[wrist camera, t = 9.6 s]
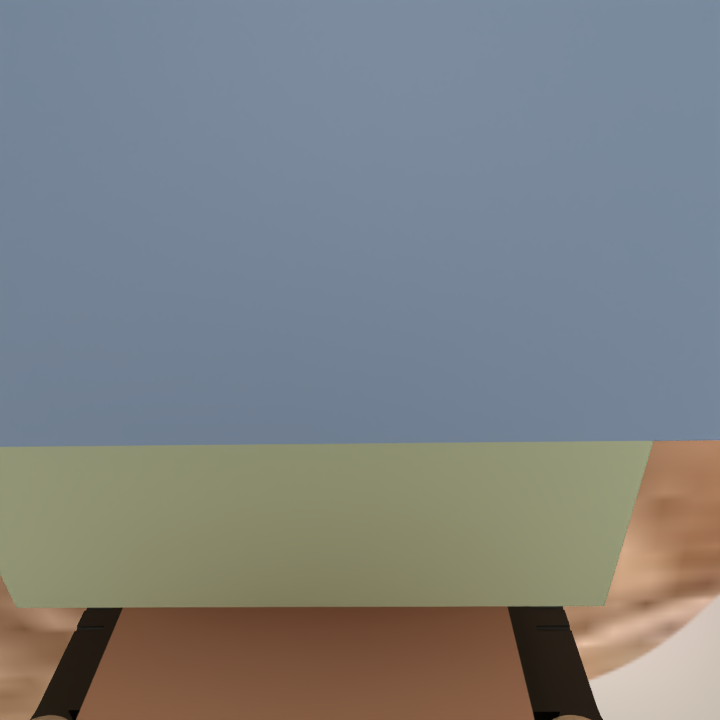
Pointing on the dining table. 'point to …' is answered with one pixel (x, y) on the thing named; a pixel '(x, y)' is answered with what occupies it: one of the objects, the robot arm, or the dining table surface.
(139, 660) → the terracotta block
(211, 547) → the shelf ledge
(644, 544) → the dining table surface
